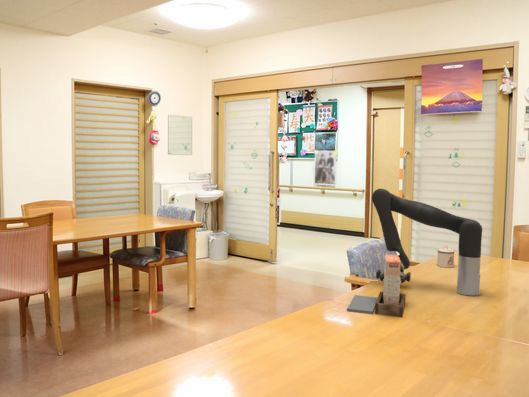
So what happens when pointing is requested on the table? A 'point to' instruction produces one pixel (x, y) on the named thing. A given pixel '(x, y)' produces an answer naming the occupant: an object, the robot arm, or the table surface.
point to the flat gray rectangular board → (362, 304)
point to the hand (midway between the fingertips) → (391, 279)
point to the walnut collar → (390, 306)
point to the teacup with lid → (445, 257)
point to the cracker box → (391, 280)
